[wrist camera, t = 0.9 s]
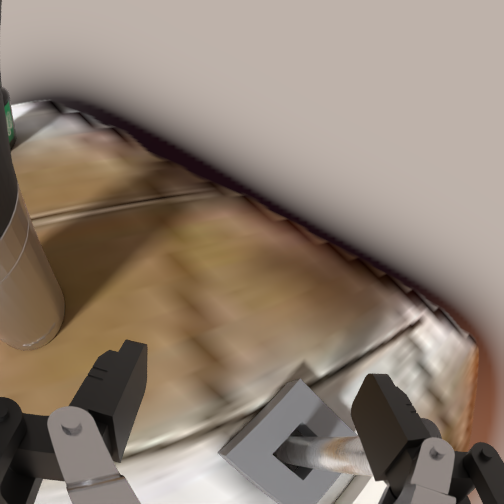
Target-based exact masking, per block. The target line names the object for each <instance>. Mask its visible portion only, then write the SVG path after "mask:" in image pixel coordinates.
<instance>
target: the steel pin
mask: <svg viewBox="0 0 504 504" xmlns="http://www.w3.org/2000/svg"><path fill="white" fill-rule="evenodd" d="M421 420H422V422H423V423H424V425H425V427H426V428H427V430H428V432H429V433H430V435H431V437H435V438H440V439H442V438H441V434H440V432H439V430H438V428H437V426H436V425H435V424H434V423H433V422H432V421H430V420H428V419H425V418H421ZM276 456H277V458H278V459H279V460H280V461H281V462H283V463H287V464H292V465H297V466H302V467H307V468H313V469H318V470H325V471H331V472H338V473H345V474H354V475H363V476H373V473H372V471H371V468H370V465H369V462H368V460H367V457H366V454H365V452H364V449H363V446H362V444H361V441H360V438H359V436H348V437H299V436H289V437H288V438H287V439H286V440H285V441H284V442H283V443H282V444H281V445H280V447H279V448H278V449H277V450H276ZM383 481H384V482H385V484H386V485H388V484H389V482H388V480H383Z"/></svg>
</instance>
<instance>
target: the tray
mask: <svg viewBox="0 0 504 504" xmlns="http://www.w3.org/2000/svg"><path fill="white" fill-rule="evenodd" d="M386 486H387V485H386V484H385V482H384V481H376V482H375V479H374V476H363V475H356V476H355V477H354V479H353V480H352V481H351V483H350V484H349V485H348V487H347V488H346V489H345V490H344V492H343V493H342V494H341V496H340V497H339V498H338V499H337V500H336V502H335V503H334V504H378V503H379V501H380V498H381V496H382V494H383V492H384V489H385V488H386Z"/></svg>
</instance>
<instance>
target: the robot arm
mask: <svg viewBox="0 0 504 504" xmlns="http://www.w3.org/2000/svg"><path fill="white" fill-rule="evenodd" d="M1 2H2V0H0V23H1ZM64 314H65V302H64V296H63V293H62V290H61V288H60V286H59V284H58V281H57V279H56V277H55V275H54V273H53V271H52V269H51V266H50V264H49V262H48V260H47V257H46V255H45V253H44V251H43V248H42V246H41V244H40V241H39V239H38V236H37V234H36V231H35V229H34V226H33V224H32V221H31V218H30V216H29V213H28V210H27V208H26V205H25V202H24V200H23V197H22V194H21V191H20V188H19V184H18V181H17V178H16V174H15V171H14V167H13V164H12V159H11V152H10V145H9V137H8V129H7V122H6V115H5V109H4V103H3V95H2V87H1V73H0V339H1V340H2V341H4V342H5V343H7V344H8V345H10V346H12V347H14V348H16V349H20V350H34V349H38V348H40V347H42V346H44V345H46V344H47V343H48V342H50V341H51V340H52V339H53V338H54V337H55V335H56V334H57V332H58V331H59V329H60V327H61V325H62V322H63V318H64ZM146 383H147V344H143V343H139V342H134V341H130V340H125V342H124V343H123V345H122V347H121V348H120V350H119V352H116V351H112V350H109V351H107V352H105V353H104V354H102V355H101V356H99V357H98V359H97V360H96V362H95V364H94V365H93V368H91V370H90V372H89V373H88V376H87V377H86V378H85V380H84V381H83V383H82V385H81V386H80V388H79V390H78V391H77V393H76V395H75V396H74V398H73V400H72V402H71V403H70V405H69V406H67V407H61V408H59V409H57V410H55V411H54V412H52V414H51V415H50V416H41V415H33V414H25V413H22V411H21V409H20V407H19V405H18V404H17V403H16V402H15V401H13V400H11V399H9V398H5V397H0V504H34V502H35V499H36V496H37V493H38V491H39V488H40V485H41V483H42V480H43V479H49V480H58V481H65V482H66V485H67V487H66V488H67V491H68V494H69V497H70V499H71V501H72V504H141V503H140V502H139V500H138V498H137V497H136V495H135V493H134V492H133V490H132V488H131V486H130V485H129V483H128V481H127V480H126V478H125V477H124V476H123V475H120V473H119V471H118V470H117V468H116V466H115V464H114V462H113V461H115V462H119V463H121V459H122V456H123V453H124V450H125V447H126V444H127V441H128V438H129V436H130V433H131V430H132V427H133V424H134V421H135V418H136V415H137V412H138V410H139V407H140V404H141V401H142V398H143V396H144V393H145V389H146ZM351 416H352V420H353V422H354V425H355V428H356V430H357V433H358V436H359V438H360V441H361V444H362V446H363V449H364V452H365V454H366V457H367V460H368V462H369V465H370V468H371V471H372V473H373V476H374V479H375V482H376V481H383V480H388V482H389V484H388V485H387V486H386V488H385V489H384V492H383V494H382V496H381V498H380V501H379V503H378V504H471V503H470V500H469V498H468V496H467V495H468V494H470V492H471V491H473V490H474V489H475V488H476V490H477V492H478V494H479V496H480V498H481V500H482V502H483V504H504V463H503V461H502V460H501V458H500V456H499V454H498V453H497V451H496V450H495V449H494V448H493V447H492V446H491V445H489V444H486V443H482V442H479V443H476V444H475V445H474V446H473V447H472V448H471V449H470V450H469V452H458V451H454V450H453V448H452V447H451V445H450V444H449V443H447V442H446V441H444V440H442V439H440V438H435V437H431V435H430V433H429V432H428V430H427V428H426V427H425V425H424V423H423V422H422V420H421V418H420V417H419V415H418V413H416V410H415V408H414V407H413V406H412V403H411V402H410V400H409V398H408V397H407V395H406V394H405V393H404V392H403V391H402V390H400V389H399V388H398V387H396V386H395V385H394V383H393V381H392V380H391V378H390V377H389V375H387V374H368V375H367V376H366V377H365V379H364V381H363V383H362V385H361V387H360V389H359V391H358V393H357V395H356V397H355V399H354V401H353V404H352V408H351Z"/></svg>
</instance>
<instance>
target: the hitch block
mask: <svg viewBox="0 0 504 504" xmlns="http://www.w3.org/2000/svg"><path fill="white" fill-rule="evenodd" d="M295 429H297V430H298V431H299V432H300V433H301V434H302V435H303V436H304V437H348V436H358V435H357V434H356V433H355V432H354V431H353V430H351V429H350V428H349V427H348V426H347V425H346V424H345V423H344V422H343V421H342V420H341V419H340V418H339V417H338V416H337V415H336V414H335V413H334V412H333V411H332V410H331V409H330V408H329V407H328V406H327V405H326V404H325V403H324V402H323V401H322V400H321V399H320V398H319V397H318V396H317V395H316V394H315V393H314V392H313V391H312V390H311V389H310V388H309V387H308V386H307V385H306V384H305V383H304V382H303V381H302V380H301V379H298V380H294V381H291V382H288V383H287V384H286V385H285V386H284V387H283V388H282V389H281V390H280V391H279V392H278V394H277V395H276V396H275V397H274V398H273V399H272V400H271V401H270V402H269V403H268V404H267V405H266V406H265V407H264V408H263V409H262V410H261V411H260V412H259V413H258V414H257V415H256V416H255V417H254V418H253V419H252V420H251V421H250V422H249V423H248V424H247V425H246V426H245V427H244V428H243V429H242V430H241V431H240V432H239V433H238V434H237V435H236V436H235V437H234V438H233V439H232V440H231V441H230V442H229V443H228V444H227V445H226V446H224V447H223V448H222V449H221V450H220V451H219V452H218V454H219V455H220V456H222V457H223V458H224V459H225V460H226V461H227V462H228V463H229V464H230V465H232V466H233V467H234V468H235V469H236V470H237V471H238V472H240V473H241V474H242V475H243V476H244V477H245V478H247V479H248V480H249V481H250V482H251V483H253V484H254V485H255V486H256V487H257V488H259V489H260V490H261V491H262V492H264V493H265V494H266V495H268V496H269V497H270V498H271V499H273V500H274V501H275V502H277V503H278V504H317V502H318V501H319V500H320V499H321V498H322V497H323V495H324V494H325V493H326V492H327V491H328V489H329V488H330V487H331V486H332V484H333V483H334V482H335V481H336V479H337V478H338V477H339V476H340V474H341V473H338V472H331V471H325V470H318V469H313V468H307V467H302V466H299V467H298V468H297V469H296V471H295V472H294V473H293V472H292V471H291V470H290V469H289V468H287V467H286V466H285V465H284V464H283V463H282V462H280V461H279V460H278V459H277V458H276V457H275V456H274V455H272V454H273V453H274V452H275V451H276V450H277V449H278V448H279V447H280V445H281V444H282V443H283V442H284V441H285V440H286V439H287V438H288V437H289V436H290V434H291V433H292V432H293V431H294V430H295Z"/></svg>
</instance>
